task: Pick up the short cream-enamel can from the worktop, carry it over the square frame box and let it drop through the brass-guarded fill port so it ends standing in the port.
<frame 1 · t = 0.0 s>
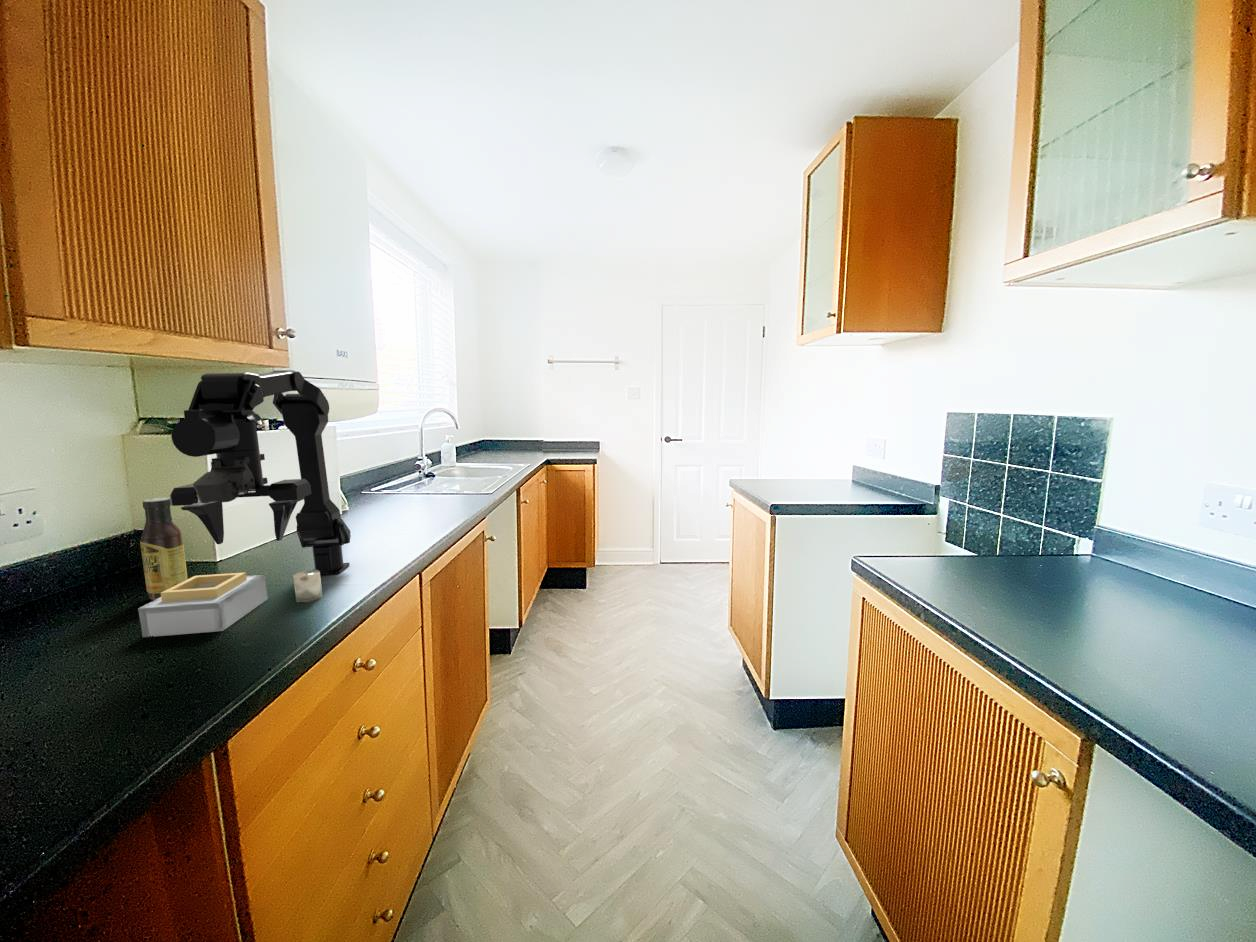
hand: (250, 542, 87), 15 cm above the counter, tool pointing down, fingers open, 9 cm apart
square frame box: (210, 616, 93), on the counter
sauce bottle: (170, 597, 103), on the counter
cream can: (309, 598, 100), on the counter
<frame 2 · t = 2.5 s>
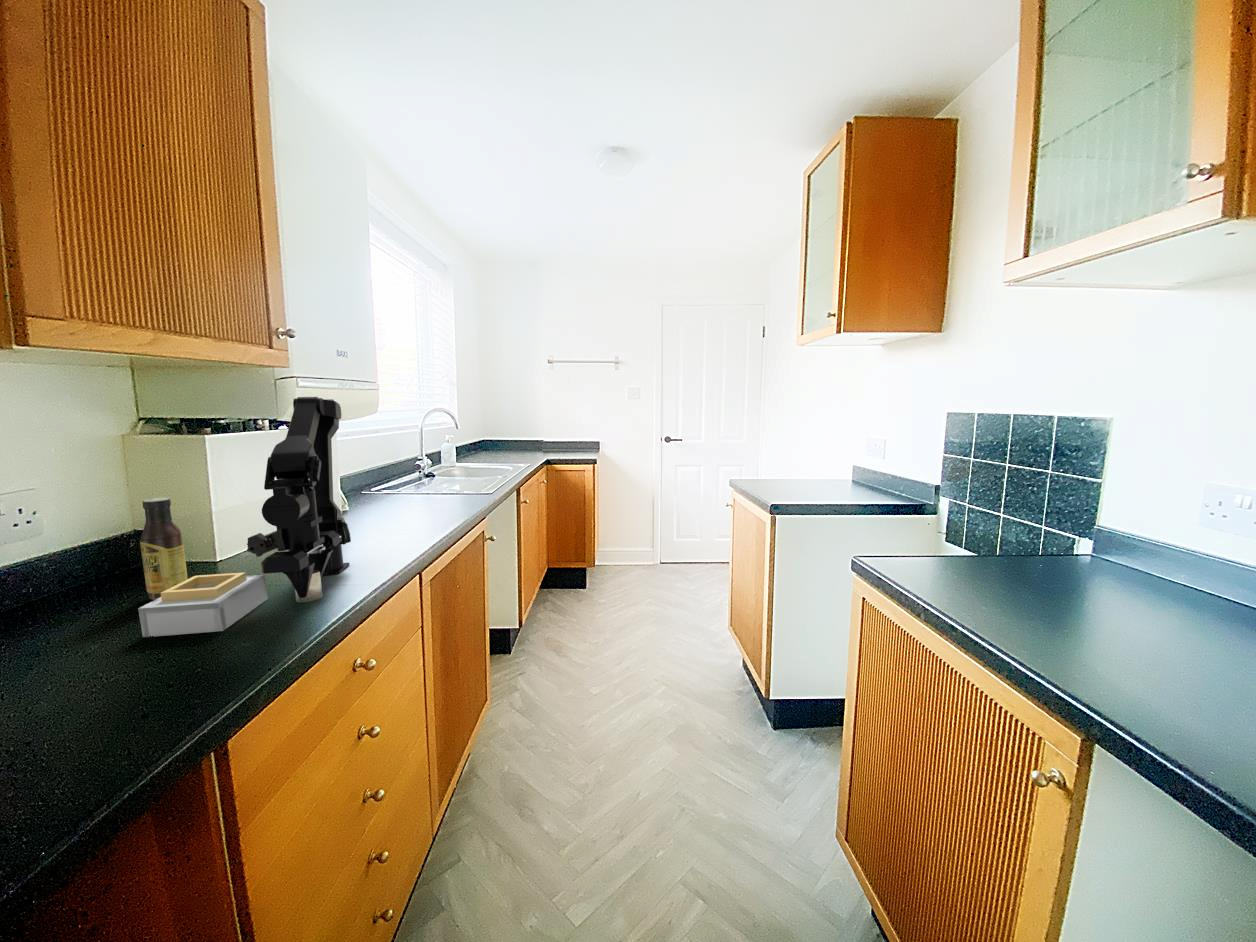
hand: (308, 592, 100), 1 cm above the counter, tool pointing down, fingers closed on cream can, 4 cm apart
cream can: (309, 598, 100), on the counter, touching gripper
everything else where it was.
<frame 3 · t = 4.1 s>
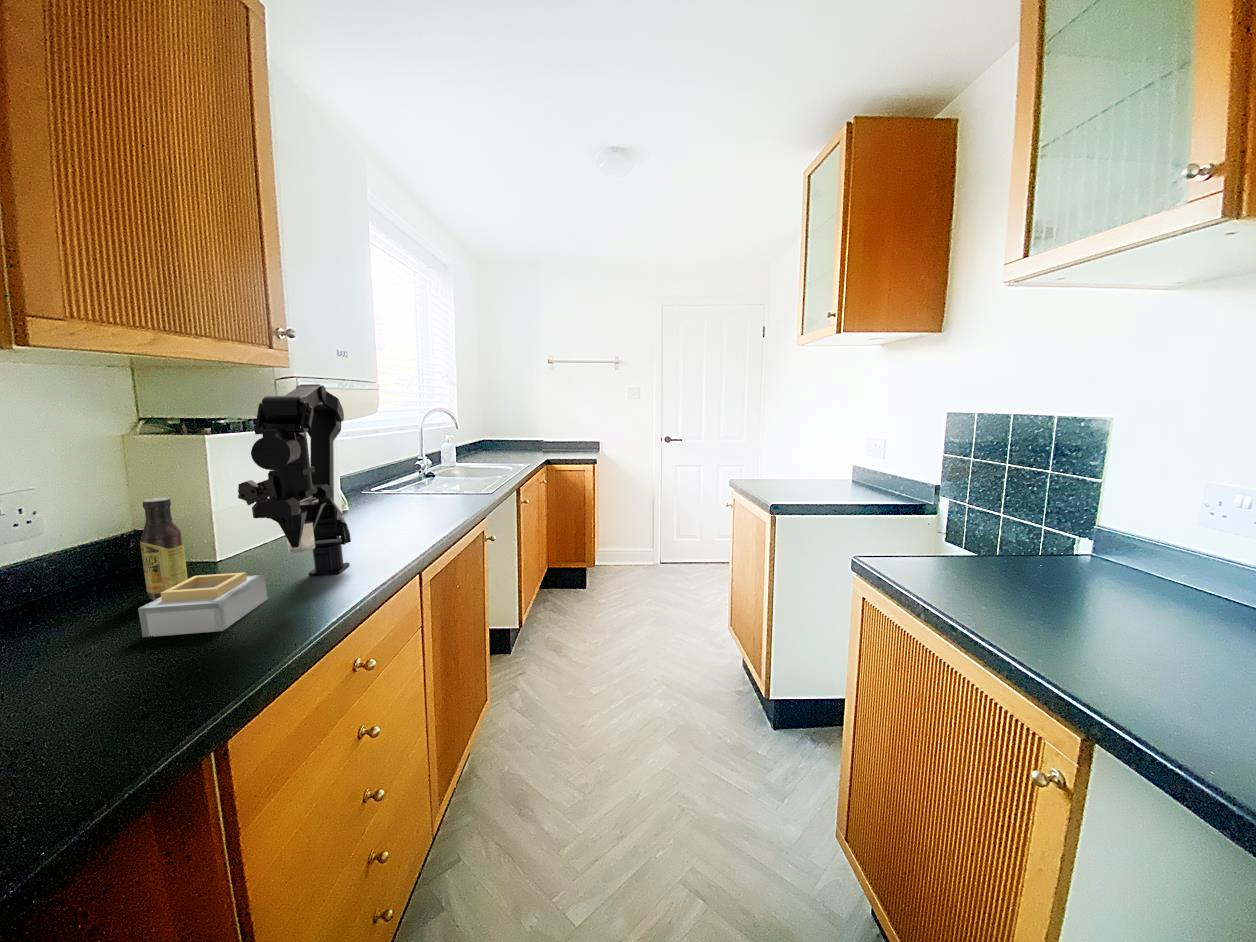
hand: (301, 543, 99), 11 cm above the counter, tool pointing down, fingers closed on cream can, 4 cm apart
cream can: (302, 549, 99), point 10 cm above the counter, touching gripper
everything else where it was.
when the fingers open (8 cm above the counter, at t = 6.2 s): cream can drops 7 cm, resting in square frame box.
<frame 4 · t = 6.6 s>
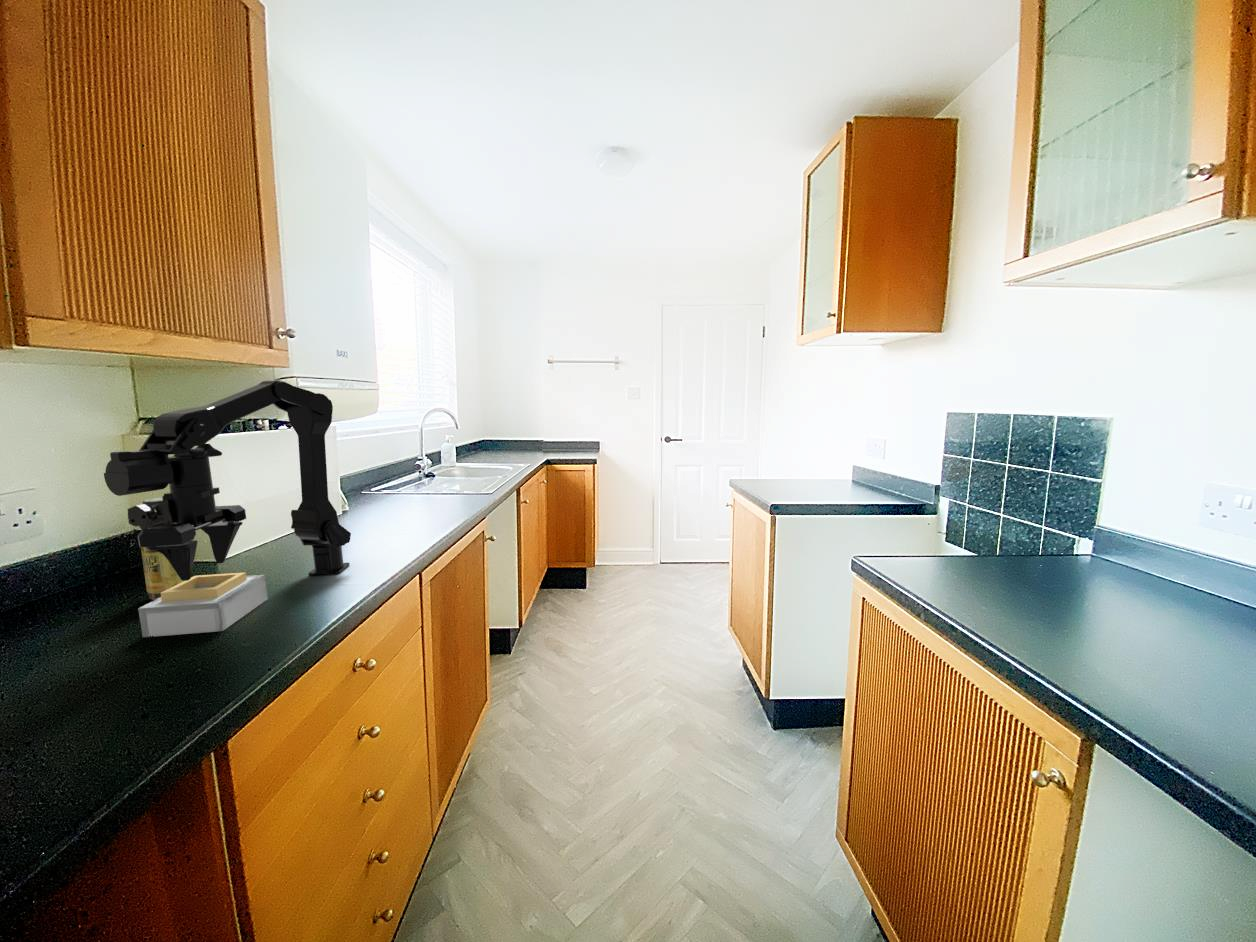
hand: (204, 571, 91), 8 cm above the counter, tool pointing down, fingers open, 9 cm apart
cream can: (211, 616, 93), resting in square frame box
everything else where it was.
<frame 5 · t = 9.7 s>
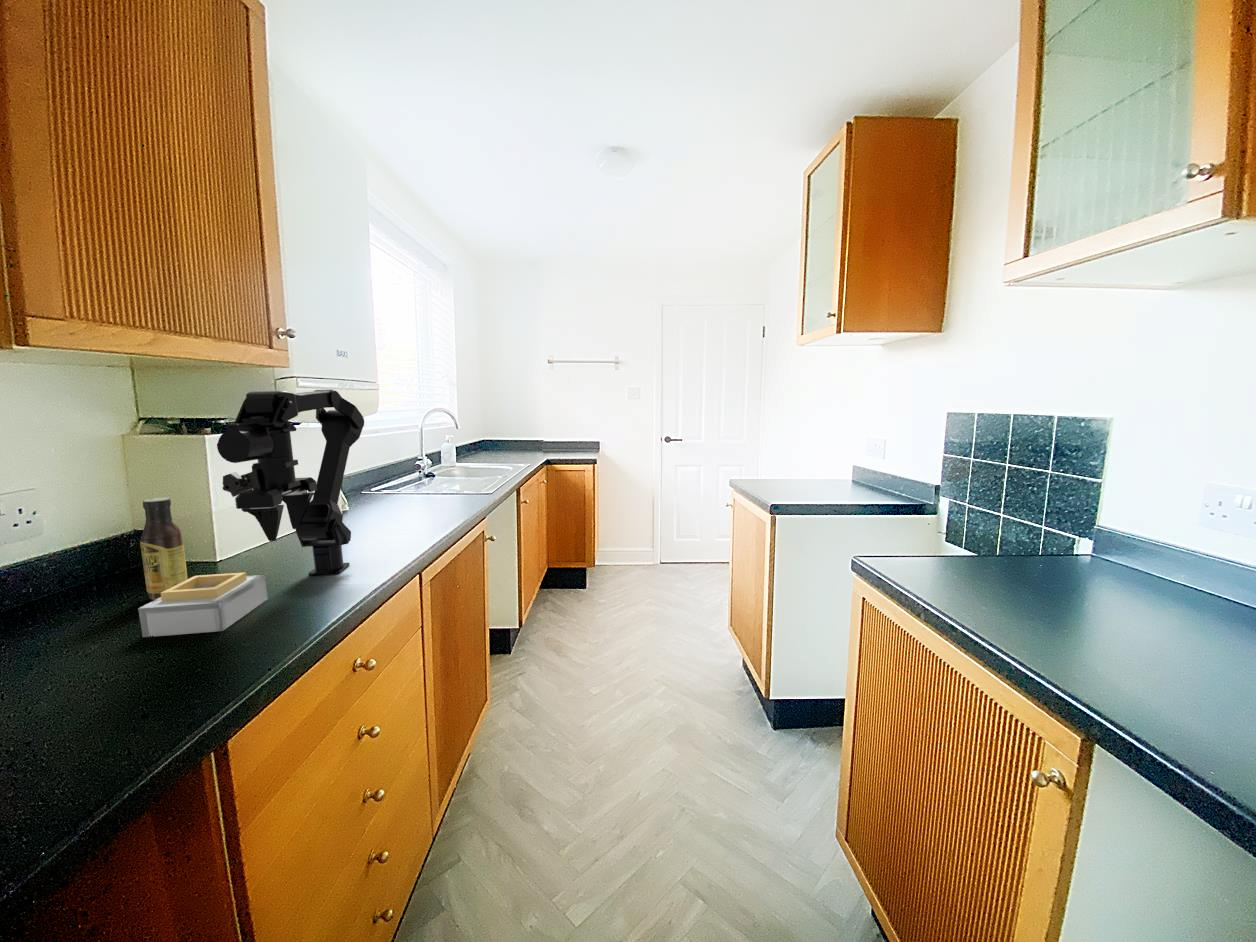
hand: (284, 534, 102), 12 cm above the counter, tool pointing down, fingers open, 9 cm apart
nothing on the counter moved.
at the end: cream can 0.2 cm off-centre on the square frame box, point 0.0 cm above the square frame box's base; cream can tilted 0°; the gripper is holding nothing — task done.
